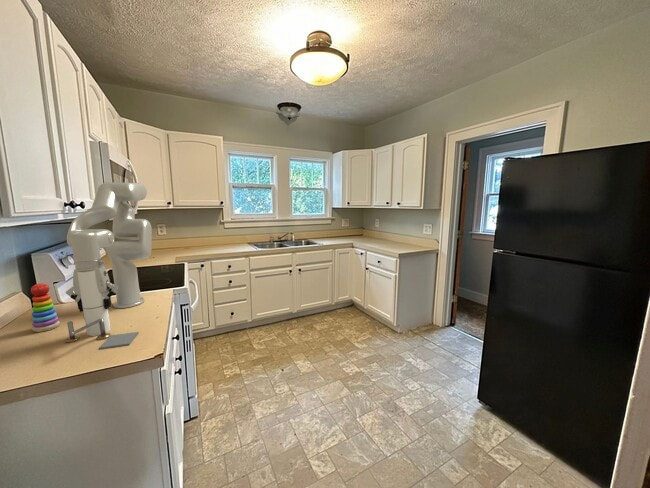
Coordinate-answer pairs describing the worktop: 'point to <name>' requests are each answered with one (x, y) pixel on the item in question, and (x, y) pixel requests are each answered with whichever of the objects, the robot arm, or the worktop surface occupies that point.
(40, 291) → the stacking toy
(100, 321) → the metal linkage
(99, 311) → the cylindrical container
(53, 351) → the worktop surface
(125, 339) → the mat
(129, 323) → the worktop surface
